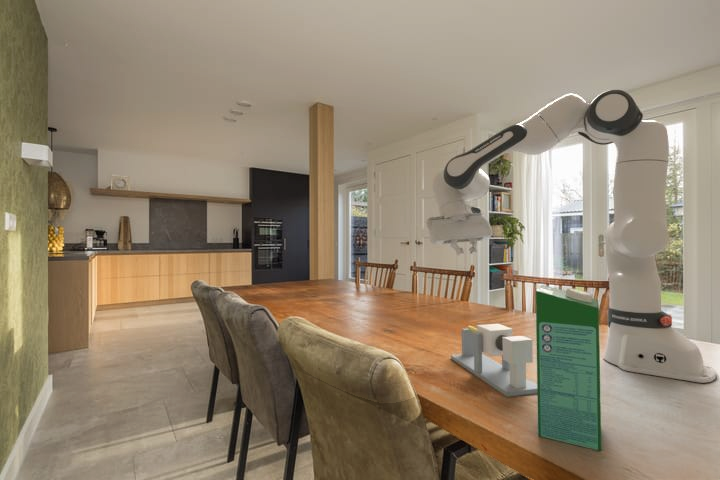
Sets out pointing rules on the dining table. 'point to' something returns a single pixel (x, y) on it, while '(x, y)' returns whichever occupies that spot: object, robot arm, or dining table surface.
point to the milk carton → (568, 366)
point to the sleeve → (492, 337)
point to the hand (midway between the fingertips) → (467, 253)
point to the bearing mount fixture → (499, 376)
